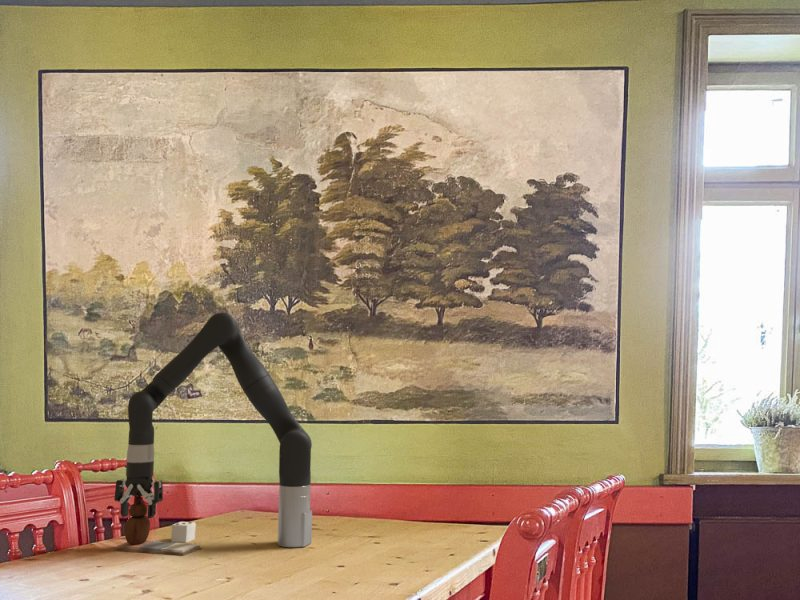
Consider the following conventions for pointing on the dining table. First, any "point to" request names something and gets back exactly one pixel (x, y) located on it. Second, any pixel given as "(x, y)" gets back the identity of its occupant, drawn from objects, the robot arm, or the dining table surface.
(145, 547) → the game strip
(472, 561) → the dining table surface
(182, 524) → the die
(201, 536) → the dining table surface
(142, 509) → the wooden figurine
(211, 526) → the dining table surface
